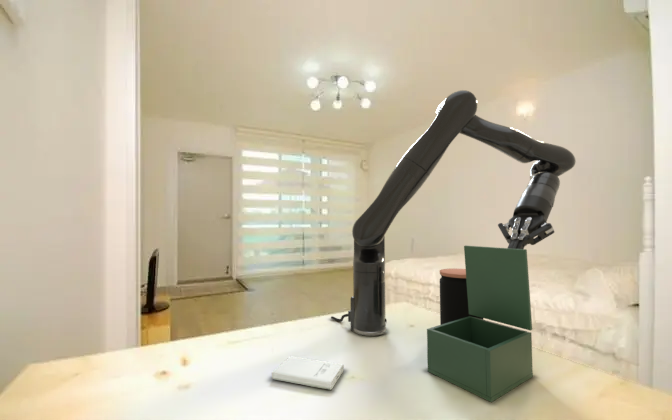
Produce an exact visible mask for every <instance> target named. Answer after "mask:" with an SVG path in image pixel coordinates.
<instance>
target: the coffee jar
mask: <svg viewBox="0 0 672 420" xmlns="http://www.w3.org/2000/svg"><path fill="white" fill-rule="evenodd" d="M439 275H440V278H439V321H440V322H439V325H442V324H445V323H448V322H452V321H455V320H458V319H462V318H465V317H468V316H472V317H475V318H479V319H483V320H484V318H481V317H477V316H473V315H470V314H469V309H468V295H467V281H466V268H442V269H439Z"/></svg>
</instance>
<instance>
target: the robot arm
mask: <svg viewBox="0 0 672 420" xmlns="http://www.w3.org/2000/svg"><path fill="white" fill-rule="evenodd" d="M477 111H478V99H477V97H476V95H475V94H474V93H473V92H472V91H469V90H463V89H462V90H457V91H454V92H452V93H450V94H448V95H447V96H446V98H444V99H443V100H442V101H441V102H440V104H439V105H438V106H437V108H436V111H435V118H434V120H433V121H432V123H431V124H430V126H429V127H428V129H427V130H426V131H424V133H423V134H422V135H421V136H420V137H419V138H418V139H416V141H415V142H414V143H413V144H412V145H411V146H410V147H409V148H408V150H407V151H406V152H405V153H404V154H403V156H402V157H401V158H400V160H399V161H398V163H397V164H396V165H395V166H394V169H393V170H392V171H391V173H390V174H389V176H388V178H387V180H386V181H385V183H384V184H383V186H382V187H381V190H380V192H379V193H378V195H377V196H376V197H375V199H374V200H373V201H372V203H371V204H370V205H369V206H368V207H367V209H365V211H364V212H363V213H362V214H361V215H360V216H359V217H358V218H357V219H356V220H355V222H354V223H353V225H352V227H351V228H352V229H351V232H352V234H351V235H352V238H353V259H352V286H353V287H352V292H353V295H352V296H350V309H349V310H348V311H347V313H344V314H342V315H341V317H340V318H338V317H335V316H331V317H330V319H331V320H334V321H335V322H338V323H339V322H343V321H344V319H345V318H347V322H348V323H350V332H354V333H356V334H357V335H361V336H364V337H376V336H381V335H384V334H386V332H387V323H388V322H387V321H388V319H387V317H386V315H387V314H386V249H385V248H386V239H385V238H386V237H385V235H386V233H387V232H388V230H389V229H390V226H391V225H392V223H393V221H394V220H395V218H396V217H397V215H398V214H399V213H400V212H401V210H402V209H403V208H404V207H405V206H406V205H407V204H408V202H409V201H410V200H412V198H414V196H415V195H416V194H417V193H418V192H419V190H420V189H421V188H422V186H424V185H425V182H426V181H427V180H428V179H429V178H430V175H431V174H432V173H433V172H434V171H435V168H436V167H437V165H438V164H439V162H440V161H441V159H442V157H443V156H444V154H445V153H446V151H447V150H448V148H449V147H450V145H451V144H452V142H453V141H454V140H455V139H456V138H457V137H458V135H459V134H461V135H464V136H466V137H468V138H471V139H474V140H476V141H477V142H480V143H482V144H485V145H487V146H489V147H491V148H493V149H495V150H497V151H498V152H500V153H502V154H504V155H506V156H508V157H509V158H511V159H512V160H515V161H516V162H518V163H521V164H528V163H532V162H533V163H532V165H531V167H530V170H529V181H528V183H527V186H526V187H525V189H524V191H523V192H522V194H521V195H520V197H519V200H518V202H517V204H516V206H515V208H514V210H513V214H512V216H511V217H510V219H508V222H506V223H504V224H503V223H502V222H499V223H498V224H497V227H498V229H499V230H500V232H501V234H502V235H503V237H504V239H505V240H506V242H507V244H508V246H507V248H512V249H525V247H527V245H530V246H534V245H536V244H538V243H539V242H542V241H543V240H545V239H547V238H548V237H550V236H551V235H553V234H554V233H555V229H554V227H553V225H552V223H550V222H547V221H548V219H549V217H550V215H551V211H552V209H553V207H554V206H555V205H554V204H555V201H556V196H557V193H558V191H559V189H560V186H561V179H560V176H562V175H564V174H565V173H567V172H569V171H570V170H572V169H573V168H574V167H575V165H576V163H577V161H576V157H575V155H574V153H572V151H570V150H569V149H568V148H566V147H564V146H560V145H557V144H554V143H549V142H545V141H540V140H536V139H535V138H534V137H531V136H529V135H527V134H525V133H524V132H522V131H520V130H519V129H515V128H513V127H511V126H506V125H503V124H498V123H495V122H492V121H489V120H487V119H484V118H482V117H480V116H478V115H477V114H476V113H477ZM534 161H535V162H534ZM510 229H511V230H510ZM510 231H511V234H510Z"/></svg>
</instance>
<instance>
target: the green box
mask: <svg viewBox="0 0 672 420" xmlns="http://www.w3.org/2000/svg"><path fill="white" fill-rule="evenodd" d="M532 336H533V335H532V332H531V331H528V330H525V329H521V328H518V327H514V326H513V327H512V326H510V325H506V324H503V323H499V322H495V321H491V320H488V319H484V318H483V319H479V318H475V317H472V316H468V317H465V318H462V319H458V320H455V321H452V322H448V323H445V324H442V325H440V324H438V325H436V326H432V327H428V328H426V348H427V349H426V351H427V352H426V353H427V359H426V360H427V372H428V373H430V374H431V375H433V376H434V375H435V376H436V377H438V378H441V379H442V380H444V381H447V382H449V383H451V384H453V385H455V386H457V387H459V388H461V389H463V390H465V391H467V392H469V393H471V394H474V395H475V396H477V397H480V398H482V399H483V400H486V401H488V402H490V403H493V402H494V401H496V400H497V399H499V398H500V397H502V396H504V395H505V394H507V393H508V392H511V391H512V390H513V389H515V388H517V387H519V386H520V385H522V384H523V383H525V382H527V381H528V380H530V379H532V378H533V377H534V375H533V374H534V373H533V343H532V342H533V340H532V338H533V337H532Z"/></svg>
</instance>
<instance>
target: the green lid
mask: <svg viewBox="0 0 672 420" xmlns="http://www.w3.org/2000/svg"><path fill="white" fill-rule="evenodd" d="M463 249H464V250H463V251H464V264H465V265H464V266H465V269H466V281H467V295H468V309H469V314H470V315H473V316H477V317H481V318H483V319H484V320H488V321H491V322H495V323H499V324H503V325H507V326H510V327H512V326H513V327H514V328H518V329H522V330H526V331H532V330H533V320H532V306H531V291H530V278H529V277H530V276H529V264H528V263H529V262H528V250H527V248H524V249H512V248H508V247H495V246H481V245H480V246H478V245H463Z"/></svg>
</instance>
